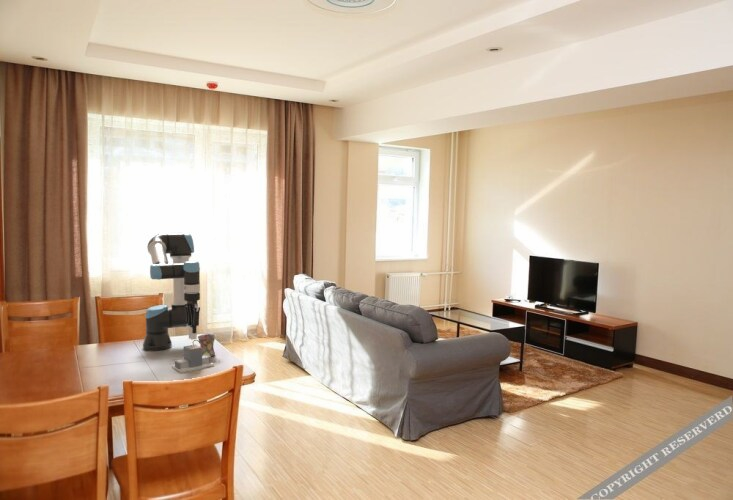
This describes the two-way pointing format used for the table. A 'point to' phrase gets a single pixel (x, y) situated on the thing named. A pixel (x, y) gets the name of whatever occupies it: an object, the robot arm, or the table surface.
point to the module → (193, 355)
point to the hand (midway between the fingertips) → (192, 338)
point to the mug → (206, 344)
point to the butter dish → (185, 364)
